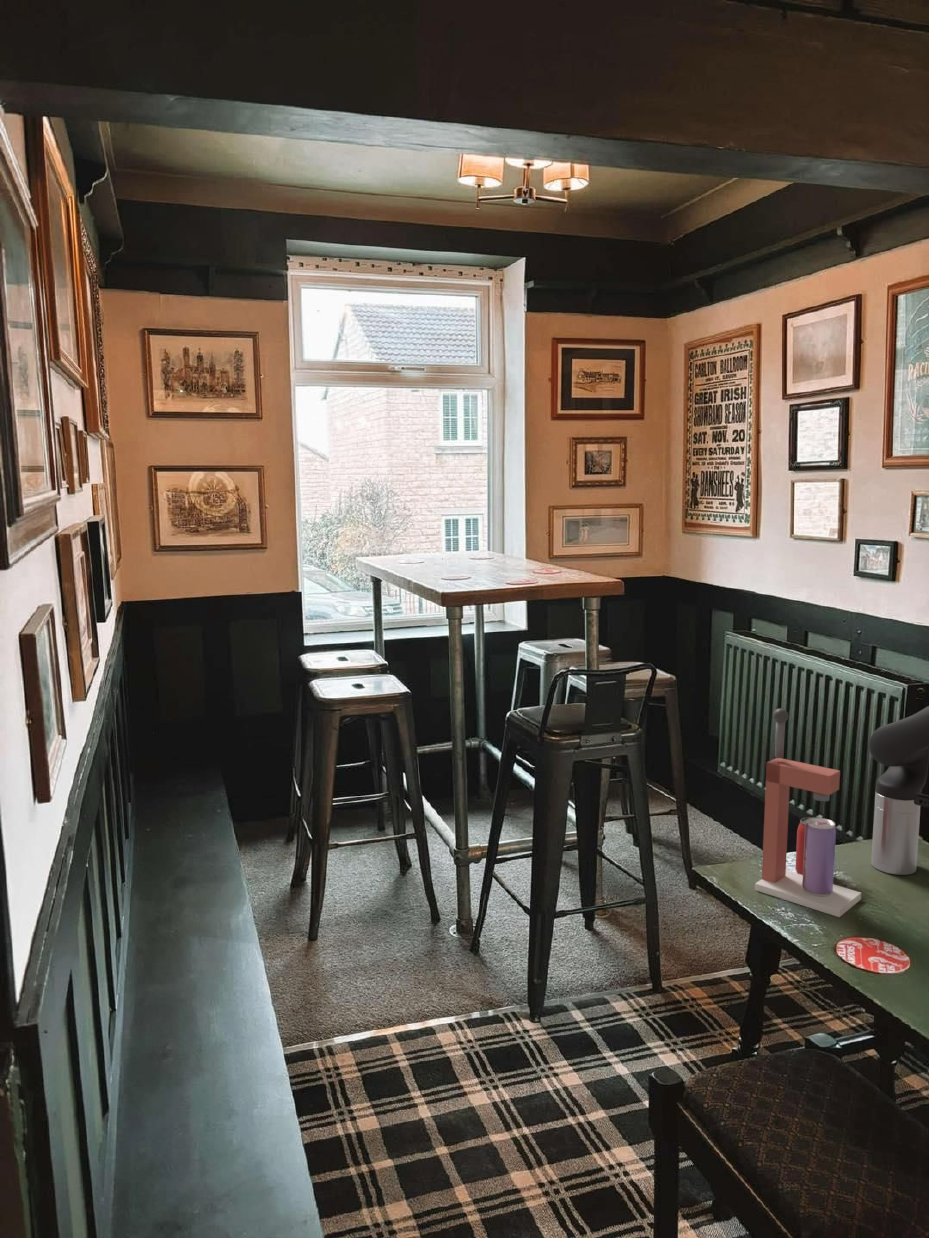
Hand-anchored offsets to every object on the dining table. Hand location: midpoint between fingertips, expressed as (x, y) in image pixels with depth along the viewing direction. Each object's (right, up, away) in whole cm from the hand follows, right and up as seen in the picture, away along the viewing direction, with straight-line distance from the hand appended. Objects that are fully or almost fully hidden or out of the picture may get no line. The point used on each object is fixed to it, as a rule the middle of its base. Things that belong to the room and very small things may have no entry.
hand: (922, 792), depth 174 cm
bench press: (-16, -25, +16) cm, 34 cm away
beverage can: (-15, -24, +15) cm, 31 cm away
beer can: (-11, -23, +27) cm, 37 cm away
